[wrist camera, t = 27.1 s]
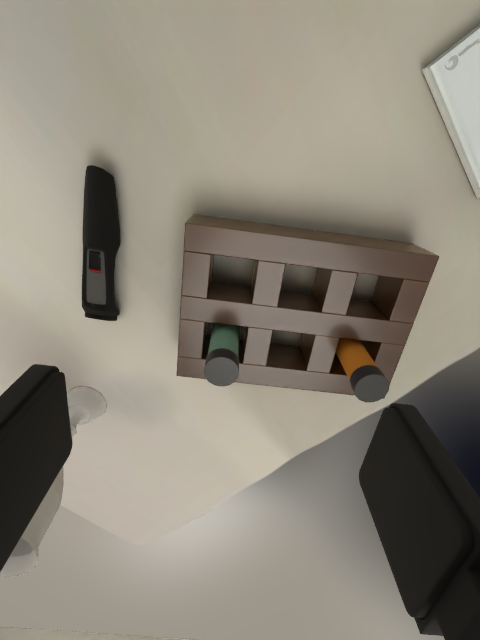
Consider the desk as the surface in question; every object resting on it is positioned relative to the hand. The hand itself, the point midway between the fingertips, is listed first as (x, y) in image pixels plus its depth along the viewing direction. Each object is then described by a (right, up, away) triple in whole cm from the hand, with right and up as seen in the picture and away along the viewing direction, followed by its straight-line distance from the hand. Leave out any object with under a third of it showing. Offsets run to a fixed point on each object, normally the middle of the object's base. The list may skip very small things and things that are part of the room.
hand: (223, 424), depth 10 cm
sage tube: (-1, +3, +28) cm, 28 cm away
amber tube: (+12, +1, +28) cm, 31 cm away
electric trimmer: (-14, +10, +25) cm, 30 cm away
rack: (+6, +5, +27) cm, 28 cm away
